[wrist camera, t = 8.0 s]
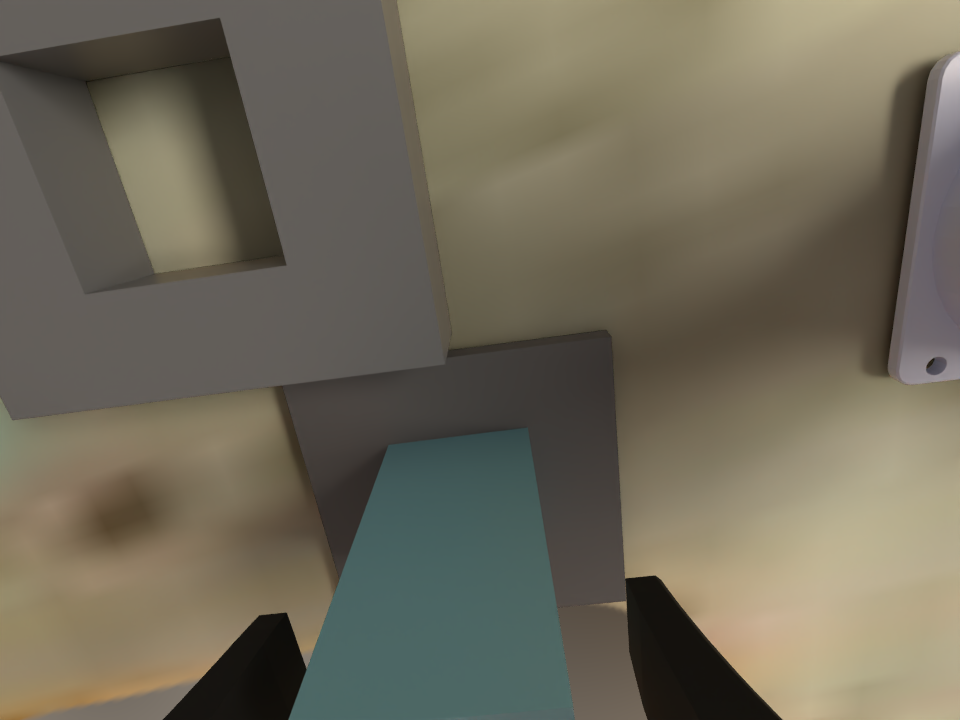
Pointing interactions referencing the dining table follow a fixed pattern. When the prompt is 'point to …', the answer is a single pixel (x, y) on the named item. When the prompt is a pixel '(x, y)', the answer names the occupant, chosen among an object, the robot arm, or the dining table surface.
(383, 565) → the plug
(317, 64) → the socket block
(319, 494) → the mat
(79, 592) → the dining table surface
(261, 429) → the dining table surface
